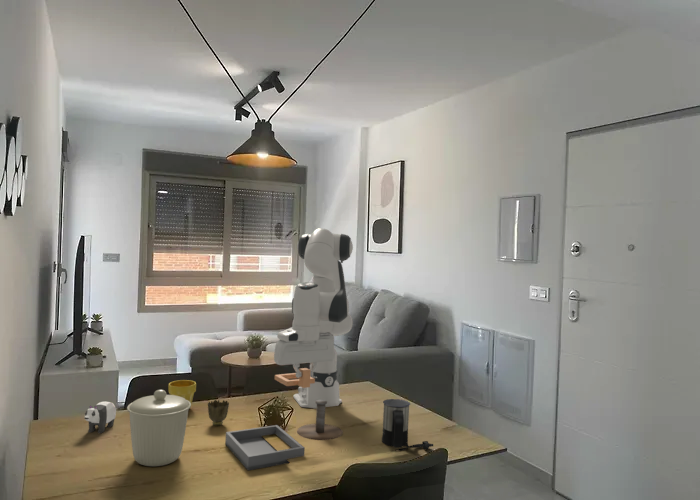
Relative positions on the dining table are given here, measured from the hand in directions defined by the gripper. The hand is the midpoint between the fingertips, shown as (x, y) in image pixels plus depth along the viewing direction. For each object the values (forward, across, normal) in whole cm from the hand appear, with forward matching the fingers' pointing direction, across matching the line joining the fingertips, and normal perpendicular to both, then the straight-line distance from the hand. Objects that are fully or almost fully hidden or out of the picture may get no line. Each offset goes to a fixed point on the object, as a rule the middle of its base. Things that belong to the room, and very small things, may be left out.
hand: (304, 376), depth 174 cm
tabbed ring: (+3, 0, -5) cm, 6 cm away
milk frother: (+25, -33, +11) cm, 43 cm away
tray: (+24, +11, -5) cm, 27 cm away
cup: (+23, +17, -35) cm, 45 cm away
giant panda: (+23, +55, -46) cm, 75 cm away
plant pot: (+23, +24, -59) cm, 67 cm away
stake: (+24, -12, -10) cm, 29 cm away
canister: (+24, +42, -12) cm, 50 cm away
